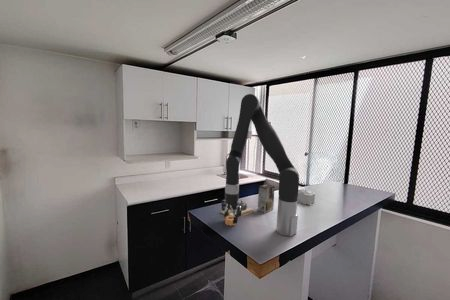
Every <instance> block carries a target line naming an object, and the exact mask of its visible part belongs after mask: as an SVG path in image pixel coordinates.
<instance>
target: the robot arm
mask: <svg viewBox="0 0 450 300" xmlns="http://www.w3.org/2000/svg"><path fill="white" fill-rule="evenodd" d="M239 107H240V108H239V116H238V119H237V124H236V128H235V131H234V134H233V139H232V141H231V145H230V151H229V154H228V157H227V159H226V160H225V171H226V173H225V174H226V176H225V187H224V199H222V200H221V210H222V211H224V213H225V214H223V215H224V218H225V217H226V216H228V215H229V213H228V211H229V210H231V211H232V213H233V215H234V220H233V223H234V224H235V225H236V224H237V223H238V221H239V218H241V217H240V216H241V212H242V206H239V205H238V203H239V199H240V198H239V197H240V174H239V171H240V163H241V159H242V155H243V152H244V150H245V147H246V143H247V140H248V136H249V131H250V130H249V129H250V125H251V122H252V123H253V127H254V129H255V132H256V134H257V137H258V140H259V142H260V143H261V146H262V147H263V149H264V151H265V152H266V153H267V155H268V157H270V158H271V160H272V161H273V162H274V164H275V167H276V169H277V171H278V173H279V178H278V182H279V183H278V199H277V211H276V212H277V216H276V230H275V231H276V232H277V233H278V234H280V235H282V236H287V237H292V236H294V235H295V234H297V233H298V232H297V230H298V218H299V216H298V214H297V210H298V202H297V198H298V190H299V187H300V185H299V184H300V175H299V172H298V171H297V169H296V168H295V166H294V165H293V164H292V162H291V160H290V158H289V157H288V154H287V153H286V150H285V148H284V145H283V143H282V141H281V139H280V137H279V135H278V133H277V131H276V129H275V128H274V126H273V125H272V124H271V123H270V121H269V119H268V118H267V116H266V115H265V113H264V111H263V107H262V106H261V102H260V100H259V98H258V97H257V96H256V95H255V94H254V93H247V94H246V95H244V96H243V97H242V98H241V102H240V106H239ZM234 210H235V211H234ZM235 213H236V214H235ZM238 217H239V218H238Z"/></svg>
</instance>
